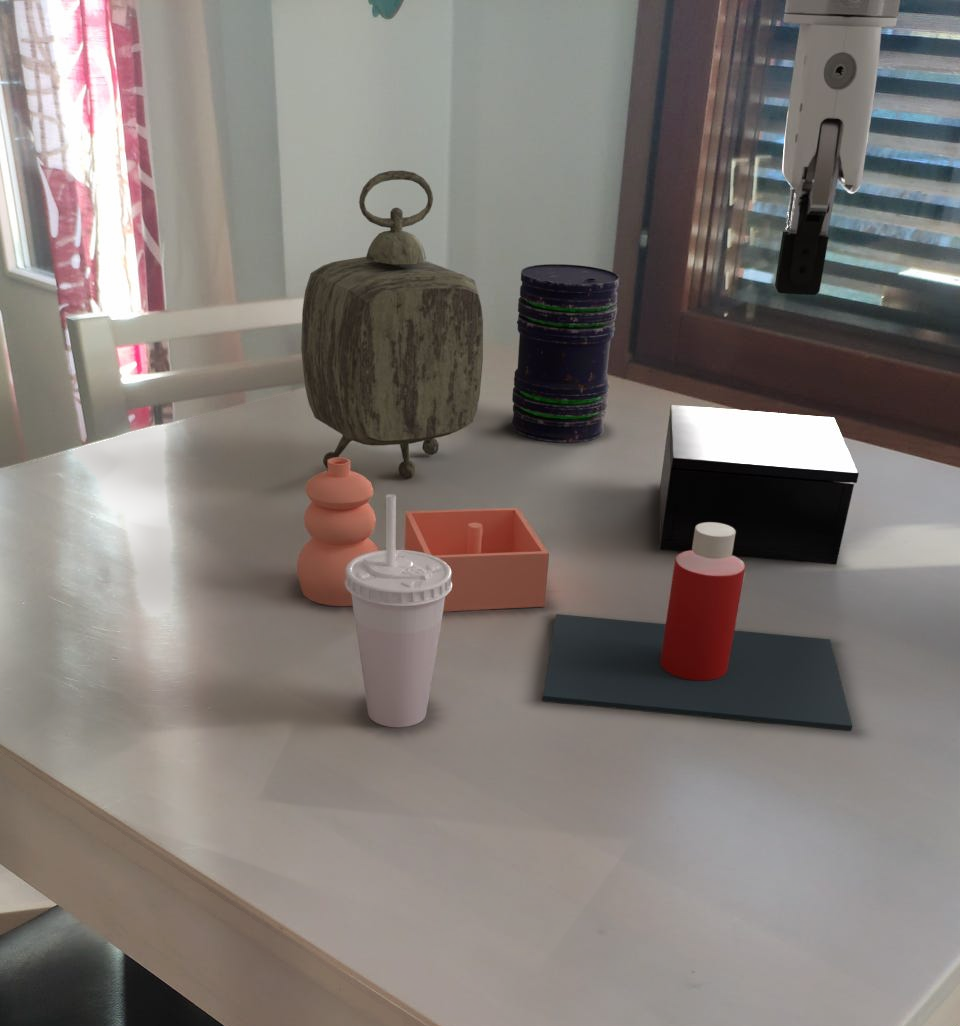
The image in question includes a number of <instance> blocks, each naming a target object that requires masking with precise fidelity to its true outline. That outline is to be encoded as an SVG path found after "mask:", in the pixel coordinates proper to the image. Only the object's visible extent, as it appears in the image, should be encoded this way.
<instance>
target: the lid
mask: <svg viewBox="0 0 960 1026" xmlns="http://www.w3.org/2000/svg"><path fill="white" fill-rule="evenodd" d="M669 415H670V437H671V465H672V468H682V469H694V470H706V471H718V472H730V473H742V474H754V475H766V476H778V477H790V478H801V479H813V480H825V481H837V482H849V483H854V484H857V483H858V479H859V476H860V475H859V474H860V473H859V471H858V469H857V466H856V464H855V462H854V460H853V457H852V455H851V453H850V450H849V448H848V446H847V444H846V442H845V439H844V437H843V435H842V432H841V430H840V428H839V426H838V423H837V421H836V419H835V417H831V416H816V415H805V414H792V413H781V412H779V413H778V412H766V411H754V410H741V409H732V408H731V409H730V408H718V407H717V408H716V407H704V406H693V405H679V404H670V408H669Z"/></svg>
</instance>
